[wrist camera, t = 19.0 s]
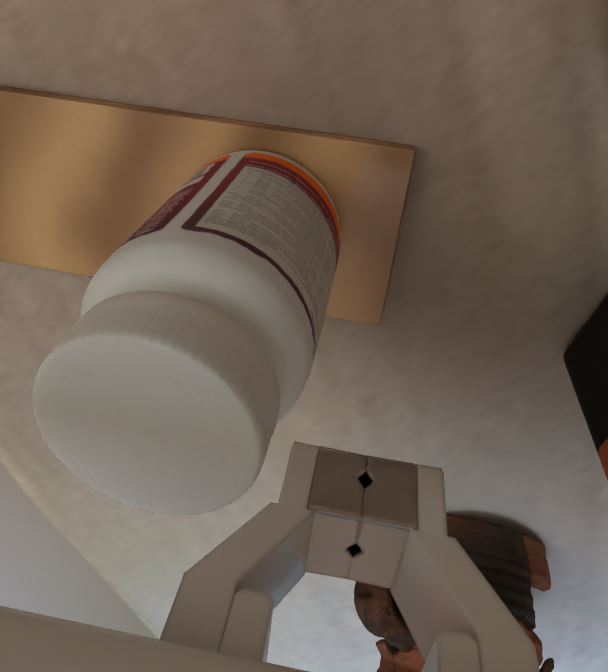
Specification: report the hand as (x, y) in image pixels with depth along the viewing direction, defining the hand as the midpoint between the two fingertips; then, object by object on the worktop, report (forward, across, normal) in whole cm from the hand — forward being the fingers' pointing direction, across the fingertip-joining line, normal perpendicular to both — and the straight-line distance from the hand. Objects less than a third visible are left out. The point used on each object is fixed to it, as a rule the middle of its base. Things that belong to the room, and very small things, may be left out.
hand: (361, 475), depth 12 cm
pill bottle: (+12, +4, 0) cm, 12 cm away
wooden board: (+12, +10, 0) cm, 15 cm away
